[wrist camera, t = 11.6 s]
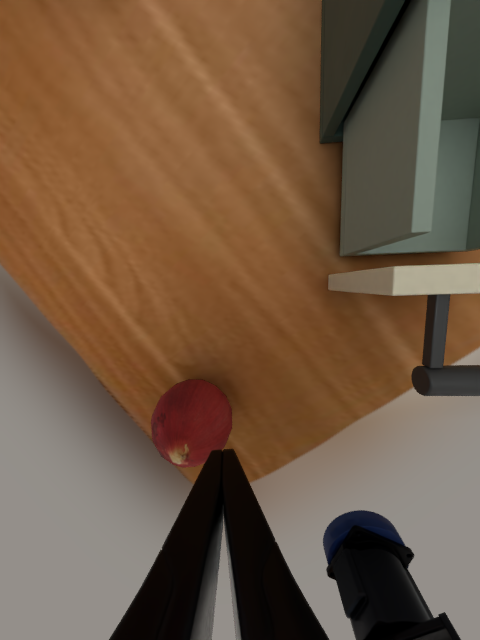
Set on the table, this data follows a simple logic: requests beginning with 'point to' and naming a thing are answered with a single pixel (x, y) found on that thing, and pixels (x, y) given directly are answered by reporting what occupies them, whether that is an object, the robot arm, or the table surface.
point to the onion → (191, 422)
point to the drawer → (418, 174)
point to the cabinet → (351, 54)
